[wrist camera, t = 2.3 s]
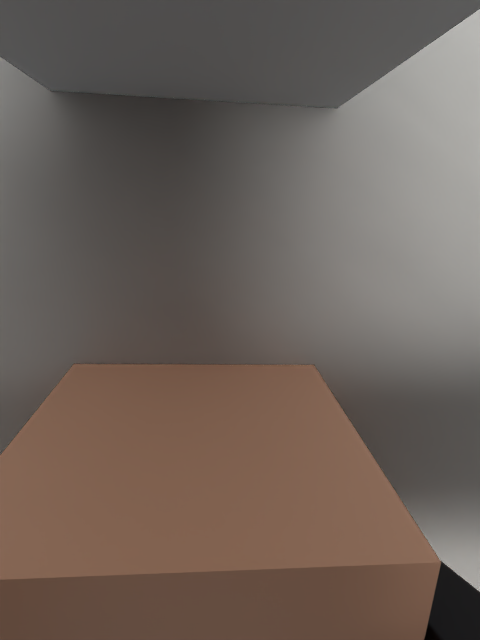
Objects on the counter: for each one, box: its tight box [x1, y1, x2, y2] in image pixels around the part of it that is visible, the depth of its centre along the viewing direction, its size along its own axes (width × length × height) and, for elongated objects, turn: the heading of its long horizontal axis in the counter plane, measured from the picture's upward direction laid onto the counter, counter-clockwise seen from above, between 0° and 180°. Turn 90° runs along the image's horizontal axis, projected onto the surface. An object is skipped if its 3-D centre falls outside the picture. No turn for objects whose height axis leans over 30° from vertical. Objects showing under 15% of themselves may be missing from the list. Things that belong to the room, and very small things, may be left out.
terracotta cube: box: [0, 364, 441, 640], centre depth 7 cm, size 5×5×5 cm
